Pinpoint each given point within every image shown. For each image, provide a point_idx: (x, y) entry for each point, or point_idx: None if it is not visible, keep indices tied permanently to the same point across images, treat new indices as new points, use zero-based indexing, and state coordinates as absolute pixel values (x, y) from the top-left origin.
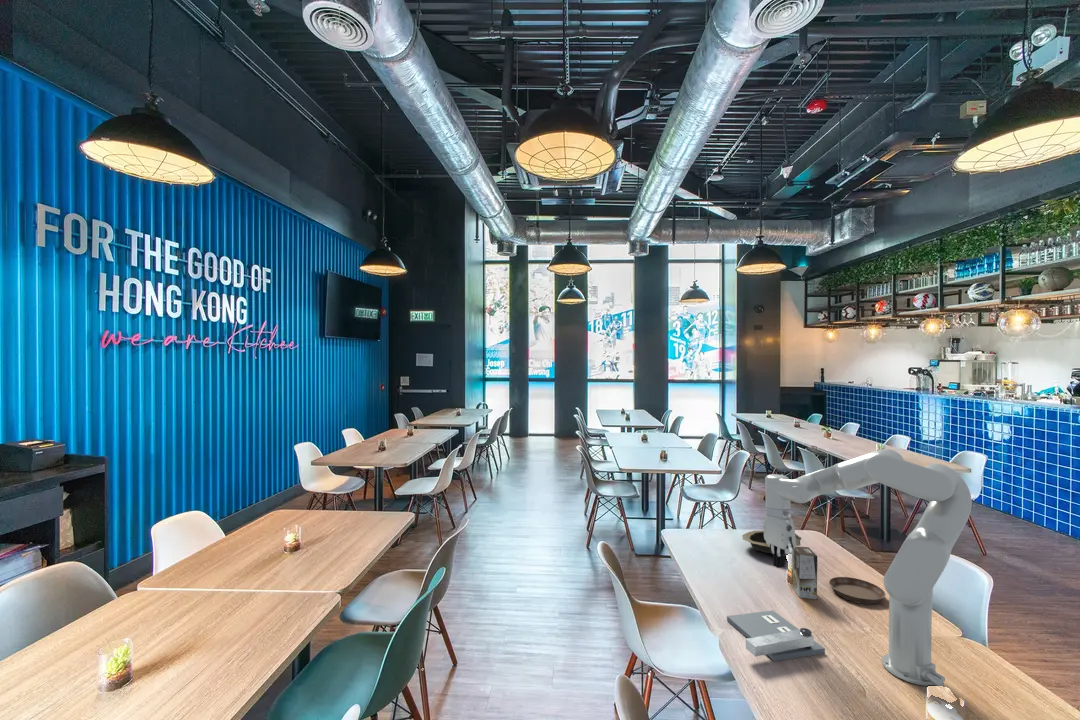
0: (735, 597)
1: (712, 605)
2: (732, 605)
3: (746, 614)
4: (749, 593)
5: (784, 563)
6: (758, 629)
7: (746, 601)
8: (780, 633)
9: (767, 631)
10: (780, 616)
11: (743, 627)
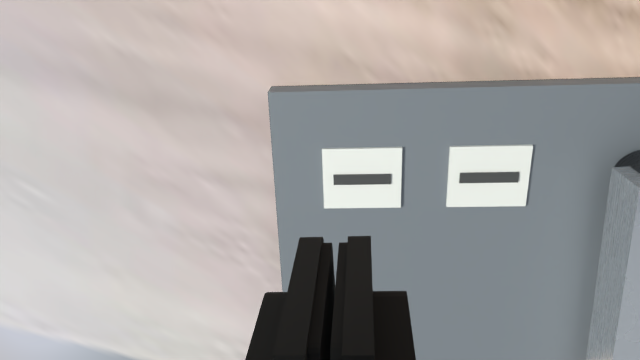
0: (63, 174)
1: (149, 332)
2: (153, 241)
3: (289, 266)
4: (7, 55)
5: (369, 262)
6: (430, 295)
7: (111, 140)
8: (623, 339)
9: (458, 266)
10: (342, 95)
11: None
